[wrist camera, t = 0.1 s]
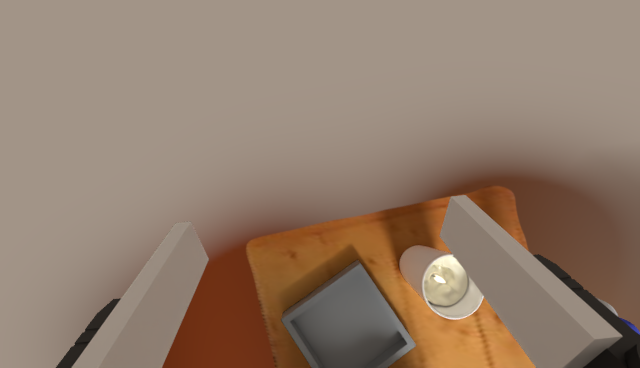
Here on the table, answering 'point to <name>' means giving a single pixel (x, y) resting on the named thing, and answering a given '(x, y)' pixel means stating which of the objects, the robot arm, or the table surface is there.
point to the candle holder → (440, 281)
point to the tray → (347, 324)
